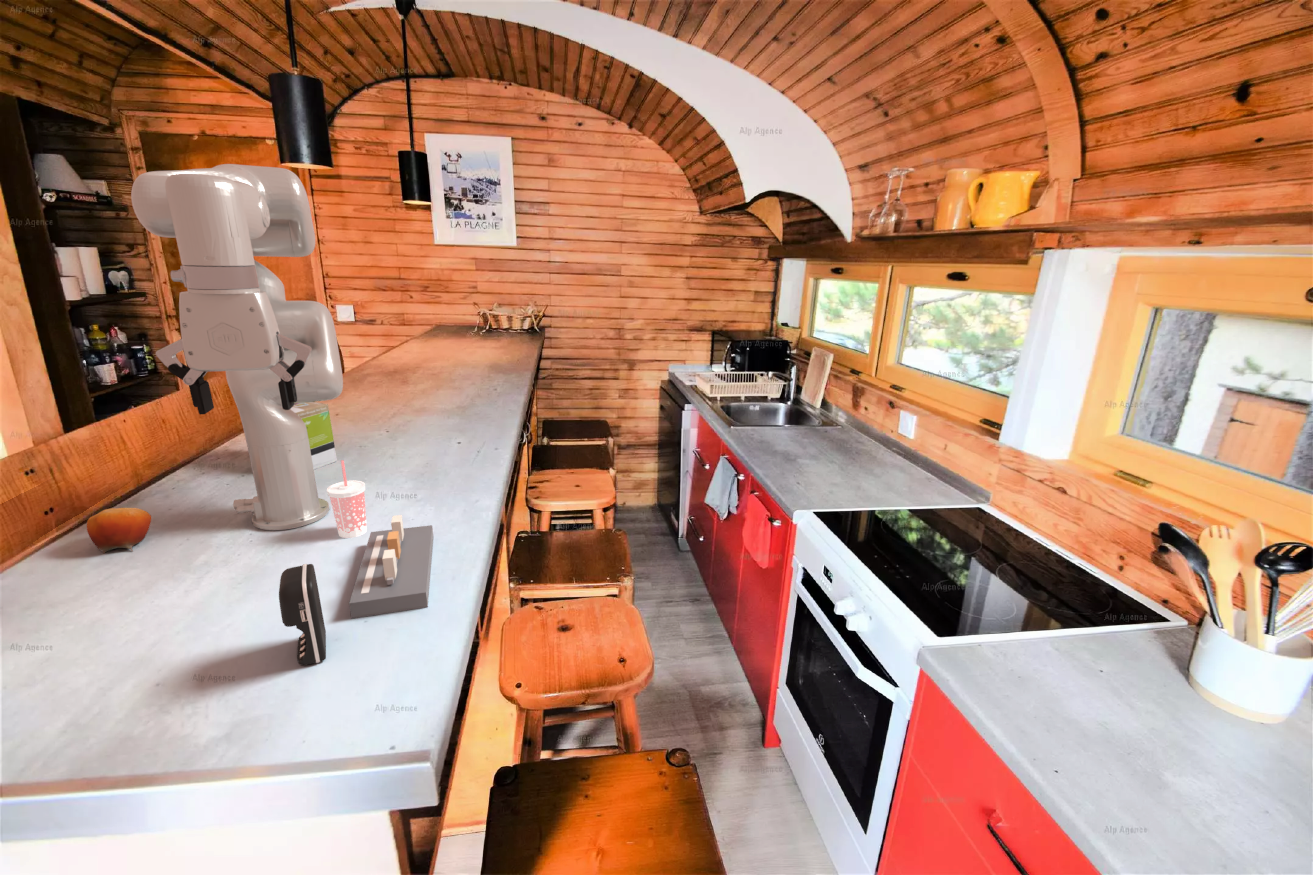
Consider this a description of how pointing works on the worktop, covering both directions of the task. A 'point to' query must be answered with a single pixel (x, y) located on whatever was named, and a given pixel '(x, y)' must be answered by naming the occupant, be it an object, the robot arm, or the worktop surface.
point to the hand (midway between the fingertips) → (248, 409)
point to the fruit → (118, 528)
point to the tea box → (318, 432)
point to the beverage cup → (348, 506)
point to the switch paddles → (393, 549)
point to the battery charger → (303, 612)
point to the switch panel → (410, 577)
